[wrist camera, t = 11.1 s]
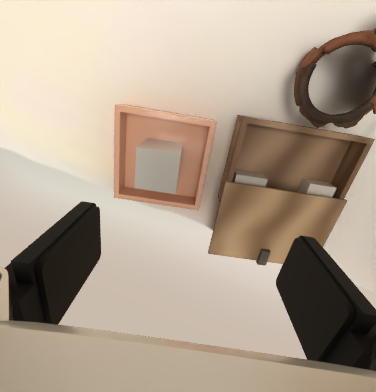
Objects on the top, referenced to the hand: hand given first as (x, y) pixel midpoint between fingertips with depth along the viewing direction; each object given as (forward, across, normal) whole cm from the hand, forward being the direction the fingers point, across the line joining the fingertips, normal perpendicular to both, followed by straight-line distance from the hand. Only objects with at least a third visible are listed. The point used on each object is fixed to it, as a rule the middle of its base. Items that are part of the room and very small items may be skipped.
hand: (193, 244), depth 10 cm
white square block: (+19, -16, +3) cm, 25 cm away
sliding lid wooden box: (+20, -12, +4) cm, 23 cm away
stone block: (+19, +4, +1) cm, 19 cm away
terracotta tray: (+19, +4, +1) cm, 20 cm away
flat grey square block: (+19, -7, +3) cm, 20 cm away
